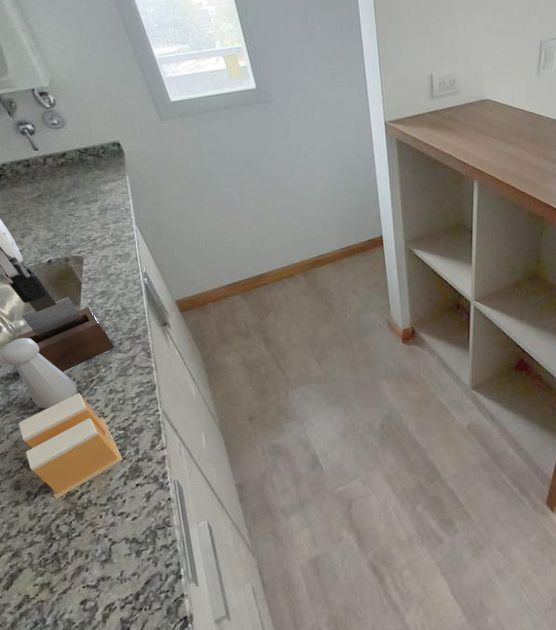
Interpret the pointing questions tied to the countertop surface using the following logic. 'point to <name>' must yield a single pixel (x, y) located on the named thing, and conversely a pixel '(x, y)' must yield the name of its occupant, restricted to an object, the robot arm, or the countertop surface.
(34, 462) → the cake slice
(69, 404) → the cake
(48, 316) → the knife
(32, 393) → the salt shaker
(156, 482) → the countertop surface
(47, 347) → the knife block
